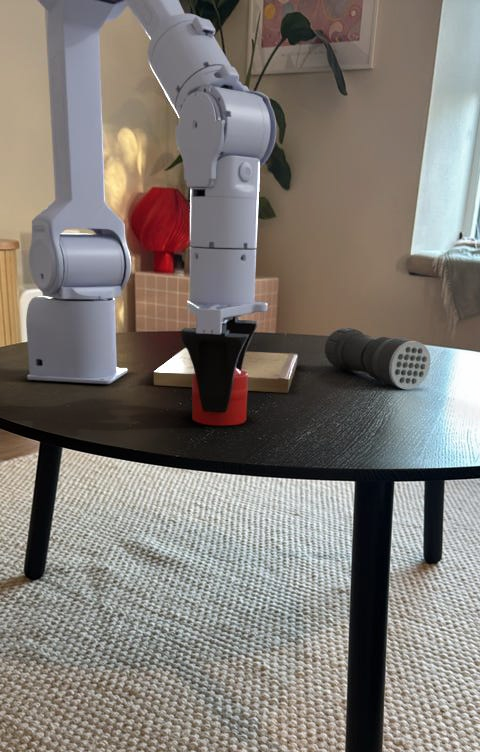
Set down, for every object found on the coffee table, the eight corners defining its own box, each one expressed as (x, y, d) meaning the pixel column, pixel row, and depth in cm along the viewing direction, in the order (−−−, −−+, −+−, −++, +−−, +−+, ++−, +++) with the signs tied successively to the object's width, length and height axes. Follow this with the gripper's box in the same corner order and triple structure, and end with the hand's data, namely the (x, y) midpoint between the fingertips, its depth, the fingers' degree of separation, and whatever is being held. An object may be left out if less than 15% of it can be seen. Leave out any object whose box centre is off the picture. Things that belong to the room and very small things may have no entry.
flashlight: (319, 367, 98) (321, 325, 96) (353, 366, 100) (357, 324, 98) (389, 390, 85) (394, 342, 83) (427, 388, 87) (433, 340, 86)
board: (153, 385, 84) (153, 371, 83) (184, 359, 101) (184, 347, 100) (287, 393, 82) (288, 378, 82) (296, 365, 99) (297, 353, 98)
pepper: (187, 424, 68) (187, 356, 66) (197, 411, 73) (197, 347, 70) (243, 427, 67) (245, 359, 65) (249, 414, 72) (251, 350, 70)
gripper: (261, 252, 57) (254, 426, 62) (276, 248, 71) (269, 391, 76) (170, 248, 58) (170, 420, 63) (202, 245, 71) (200, 387, 76)
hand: (219, 404), depth 69 cm, fingers closed on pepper, 5 cm apart
